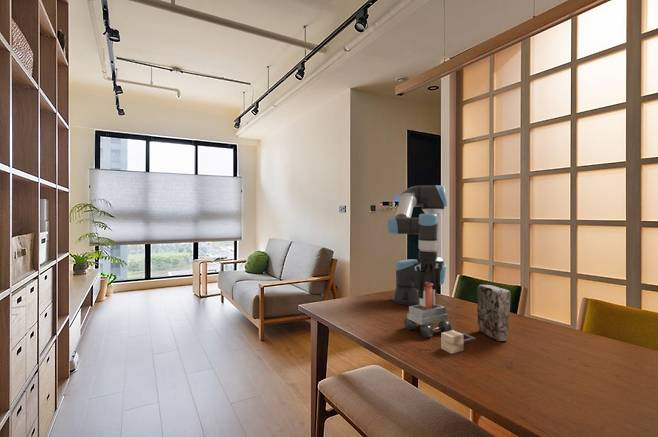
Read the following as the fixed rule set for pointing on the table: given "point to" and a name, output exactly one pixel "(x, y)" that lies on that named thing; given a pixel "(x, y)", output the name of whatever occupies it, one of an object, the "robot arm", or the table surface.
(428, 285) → the pin
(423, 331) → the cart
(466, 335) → the collar
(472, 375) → the table surface
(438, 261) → the robot arm
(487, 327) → the stone block
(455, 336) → the block
